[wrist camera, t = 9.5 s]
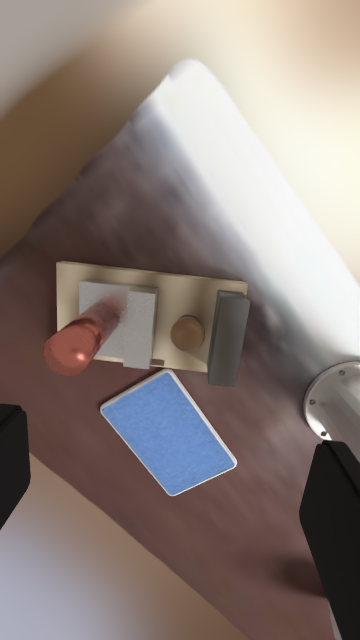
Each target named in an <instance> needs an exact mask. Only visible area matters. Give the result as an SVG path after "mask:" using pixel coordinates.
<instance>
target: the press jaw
mask: <svg viewBox="0 0 360 640" xmlns="http://www.w3.org/2000/svg"><path fill="white" fill-rule="evenodd" d="M158 293H159V287H150V286H141V285H133V284H124V283H115V282H106V281H98V280H89V279H83V280H81V281H79V316H78V317H76V318H75V319H74V320H73V321H71V322H70V323H69V324H67V325H66V326H65V327H63V328H62V329H61V330H60V331H58V332H57V333H56V334H54V335H53V336H52V337H51V338H49V339H48V340H47V342H46V343H45V346H44V350H43V353H44V358H45V361H46V363H47V364H48V366H49V367H50V368H51V369H52V370H53V371H55V372H57V373H59V374H61V375H65V376H73V375H77V374H79V373H81V372H82V371H83V370H84V369H85V368H86V367H87V365H88V364H89V363H90V362H91V360H92V359H93V358H94V356H95V355H98V356H107V357H115V358H124V364H123V366H124V367H133V368H141V369H149V368H150V364H151V361H152V358H153V350H154V339H155V327H156V316H157V305H158Z"/></svg>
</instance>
